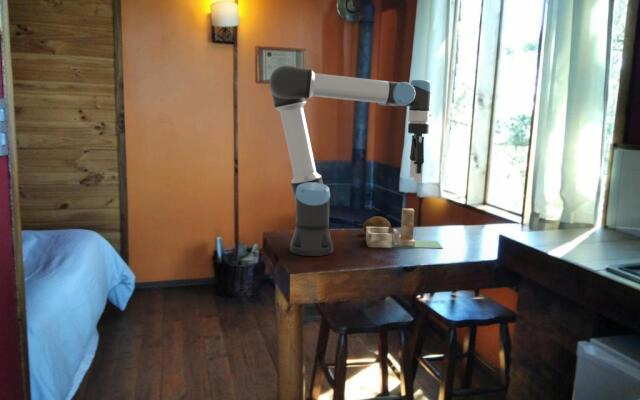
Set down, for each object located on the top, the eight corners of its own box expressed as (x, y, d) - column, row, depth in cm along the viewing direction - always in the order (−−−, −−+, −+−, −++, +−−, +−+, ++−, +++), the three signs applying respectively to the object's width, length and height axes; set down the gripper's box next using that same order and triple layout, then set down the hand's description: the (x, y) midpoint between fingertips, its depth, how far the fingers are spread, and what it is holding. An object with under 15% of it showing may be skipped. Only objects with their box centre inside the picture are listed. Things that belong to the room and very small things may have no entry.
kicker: (411, 239, 200) (412, 207, 198) (415, 246, 190) (417, 212, 188) (392, 239, 200) (394, 206, 198) (395, 245, 190) (397, 211, 188)
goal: (367, 246, 189) (368, 233, 189) (365, 239, 201) (366, 226, 200) (391, 247, 189) (392, 234, 188) (387, 239, 201) (388, 227, 200)
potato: (358, 234, 209) (358, 215, 208) (382, 231, 216) (383, 213, 214) (370, 238, 202) (371, 219, 201) (394, 235, 209) (395, 216, 208)
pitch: (372, 246, 190) (372, 245, 190) (369, 239, 201) (369, 238, 201) (442, 248, 190) (442, 247, 190) (437, 241, 200) (437, 240, 200)
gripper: (434, 123, 178) (430, 184, 182) (423, 122, 203) (420, 176, 207) (412, 123, 179) (409, 183, 182) (404, 122, 203) (401, 175, 207)
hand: (415, 180), depth 194 cm, fingers open, 13 cm apart
